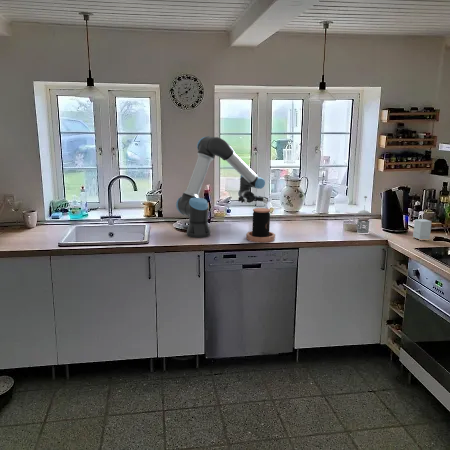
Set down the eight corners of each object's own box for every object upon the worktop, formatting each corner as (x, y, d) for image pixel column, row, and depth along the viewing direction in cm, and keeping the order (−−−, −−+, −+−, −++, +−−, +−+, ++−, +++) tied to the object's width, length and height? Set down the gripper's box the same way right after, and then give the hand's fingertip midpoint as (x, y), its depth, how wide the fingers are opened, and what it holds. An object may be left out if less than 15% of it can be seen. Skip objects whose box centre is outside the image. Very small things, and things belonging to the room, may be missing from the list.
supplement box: (429, 241, 274) (432, 221, 271) (419, 241, 273) (421, 221, 270) (422, 238, 281) (425, 218, 278) (412, 238, 280) (414, 219, 277)
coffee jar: (268, 240, 266) (269, 211, 262) (250, 239, 268) (251, 210, 264) (269, 236, 276) (271, 208, 272) (253, 235, 278) (254, 207, 274)
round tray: (251, 242, 262) (251, 238, 261) (243, 235, 279) (243, 231, 278) (278, 241, 266) (278, 237, 265) (269, 234, 282) (269, 230, 282)
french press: (366, 235, 285) (370, 197, 280) (349, 232, 292) (352, 195, 286) (372, 232, 293) (375, 195, 287) (355, 229, 300) (358, 194, 294)
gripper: (265, 202, 305) (274, 207, 284) (230, 201, 300) (237, 207, 279) (265, 191, 303) (275, 195, 283) (230, 190, 298) (238, 195, 278)
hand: (256, 201), depth 281 cm, fingers open, 13 cm apart
